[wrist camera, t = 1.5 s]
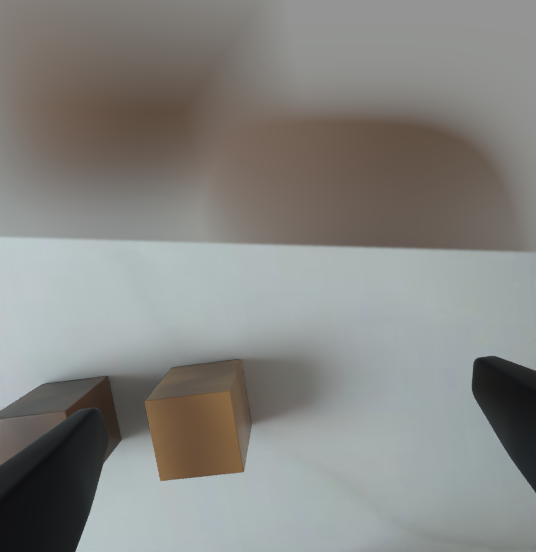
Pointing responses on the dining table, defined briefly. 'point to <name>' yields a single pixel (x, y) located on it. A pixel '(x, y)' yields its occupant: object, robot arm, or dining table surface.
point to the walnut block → (55, 413)
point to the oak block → (200, 420)
